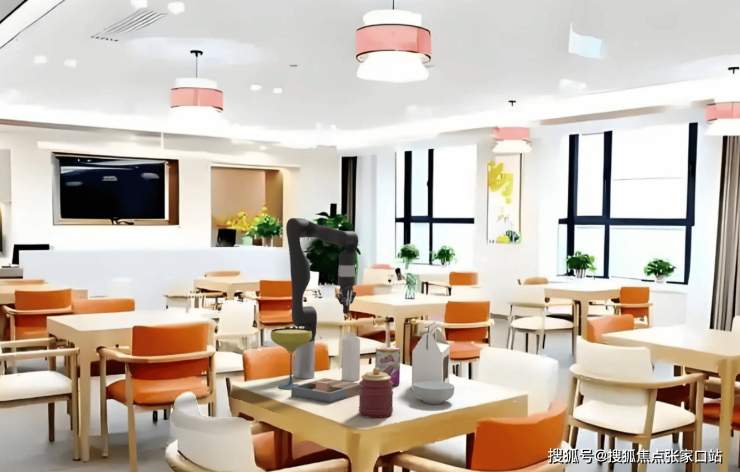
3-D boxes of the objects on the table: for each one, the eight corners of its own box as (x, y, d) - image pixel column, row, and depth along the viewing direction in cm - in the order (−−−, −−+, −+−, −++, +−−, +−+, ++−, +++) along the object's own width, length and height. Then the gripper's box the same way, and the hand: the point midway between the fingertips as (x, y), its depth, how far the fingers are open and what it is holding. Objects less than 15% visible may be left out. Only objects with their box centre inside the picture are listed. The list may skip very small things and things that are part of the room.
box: (291, 396, 305) (291, 387, 305) (307, 391, 315) (307, 382, 315) (329, 403, 294) (329, 393, 294) (345, 398, 304) (345, 388, 304)
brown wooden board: (307, 391, 315) (307, 382, 315) (324, 387, 325) (324, 378, 325) (345, 398, 304) (345, 388, 304) (362, 393, 314) (362, 383, 314)
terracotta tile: (318, 392, 309) (315, 393, 307) (318, 380, 309) (315, 381, 307) (330, 394, 306) (327, 395, 304) (330, 382, 306) (327, 383, 304)
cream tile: (314, 388, 307) (314, 393, 307) (307, 390, 303) (307, 395, 303) (326, 390, 304) (326, 395, 304) (319, 392, 300) (319, 397, 300)
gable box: (441, 392, 317) (442, 328, 316) (411, 390, 320) (412, 326, 320) (449, 382, 338) (450, 322, 338) (421, 380, 342) (422, 320, 341)
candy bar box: (374, 385, 331) (375, 348, 330) (375, 382, 336) (376, 347, 335) (399, 385, 329) (399, 349, 329) (400, 383, 334) (400, 347, 334)
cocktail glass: (263, 389, 317) (264, 332, 317) (279, 381, 335) (280, 327, 335) (302, 392, 313) (303, 334, 312) (316, 384, 330) (317, 329, 330)
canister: (372, 420, 270) (372, 372, 269) (352, 412, 280) (352, 366, 280) (399, 415, 277) (400, 368, 277) (379, 408, 288) (379, 363, 288)
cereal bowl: (462, 403, 297) (462, 386, 297) (429, 408, 288) (430, 390, 288) (437, 395, 312) (437, 378, 312) (404, 399, 303) (405, 382, 303)
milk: (350, 381, 337) (351, 334, 337) (341, 379, 341) (341, 332, 341) (359, 379, 342) (360, 332, 341) (350, 377, 346) (351, 331, 345)
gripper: (348, 274, 338) (347, 311, 338) (331, 275, 327) (330, 314, 327) (361, 275, 334) (361, 313, 334) (344, 276, 323) (344, 315, 323)
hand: (346, 313), depth 330 cm, fingers closed
